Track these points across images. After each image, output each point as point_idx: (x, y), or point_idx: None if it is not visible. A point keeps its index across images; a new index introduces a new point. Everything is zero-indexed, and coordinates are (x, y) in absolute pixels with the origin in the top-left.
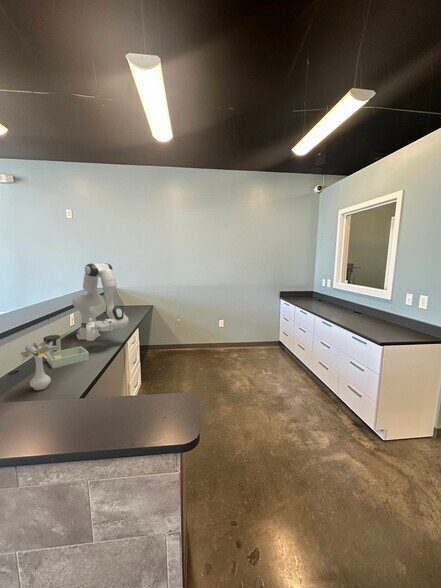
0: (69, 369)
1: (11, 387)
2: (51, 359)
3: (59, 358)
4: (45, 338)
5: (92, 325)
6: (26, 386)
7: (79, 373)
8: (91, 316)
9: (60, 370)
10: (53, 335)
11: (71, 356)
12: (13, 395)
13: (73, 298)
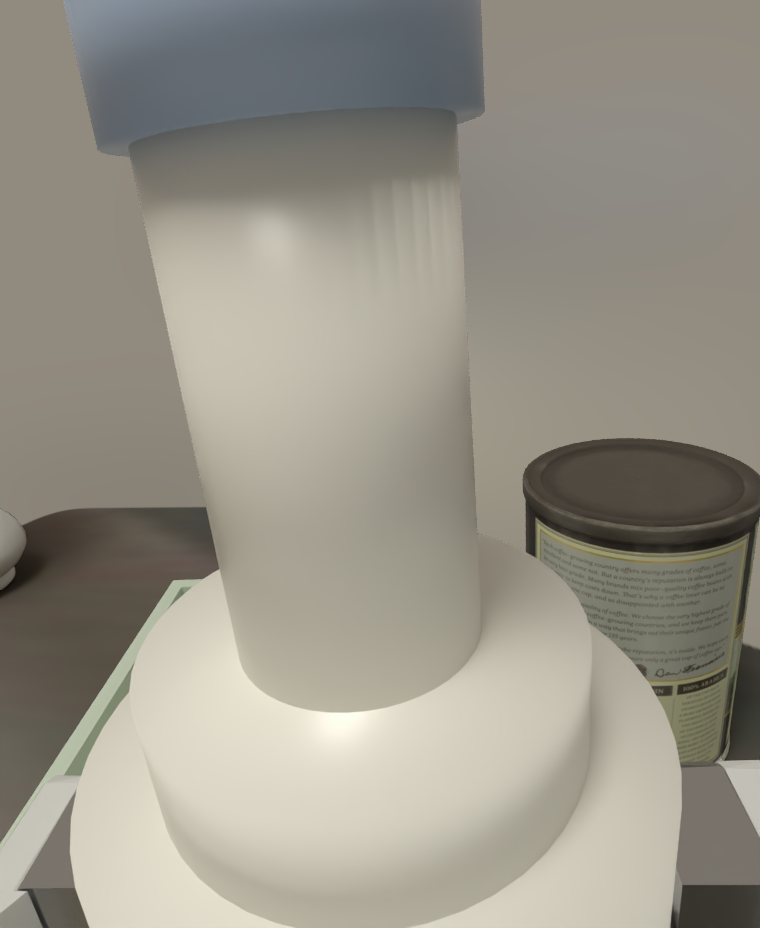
0: (23, 752)
1: (152, 518)
2: (202, 579)
3: (154, 619)
4: (607, 448)
5: (101, 777)
6: (83, 550)
7: None
8: (74, 41)
9: (97, 694)
10: (742, 489)
11: (93, 712)
12: (49, 522)
13: None
